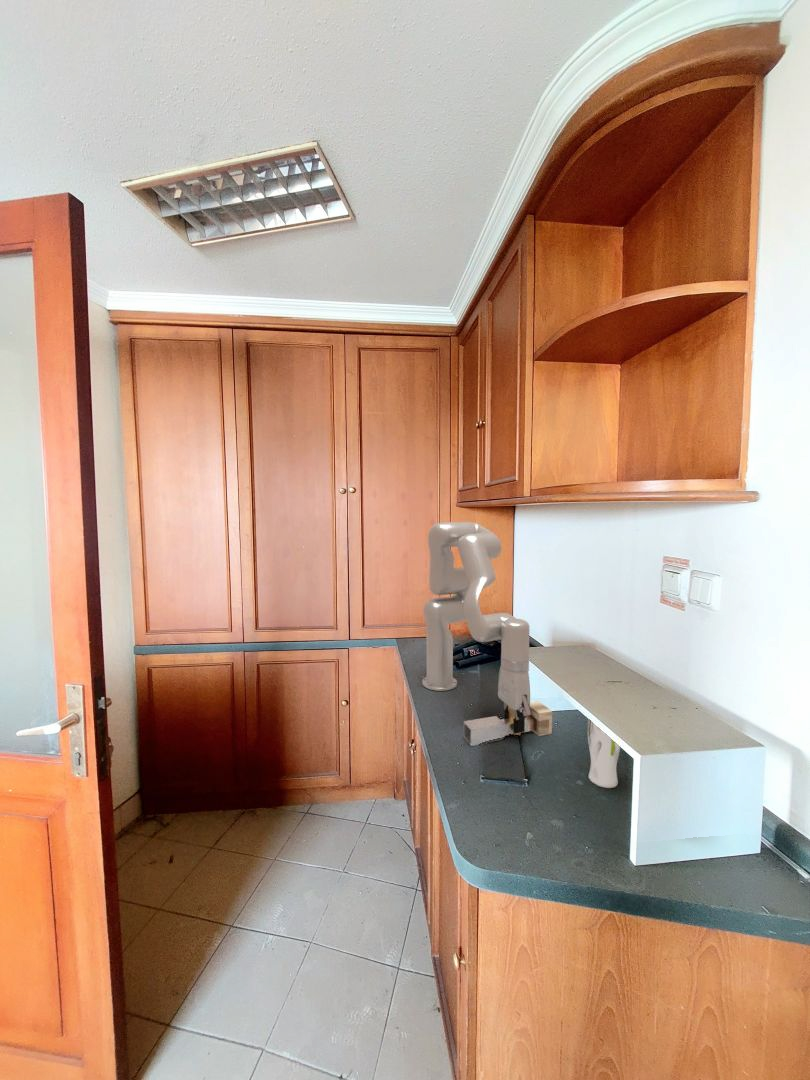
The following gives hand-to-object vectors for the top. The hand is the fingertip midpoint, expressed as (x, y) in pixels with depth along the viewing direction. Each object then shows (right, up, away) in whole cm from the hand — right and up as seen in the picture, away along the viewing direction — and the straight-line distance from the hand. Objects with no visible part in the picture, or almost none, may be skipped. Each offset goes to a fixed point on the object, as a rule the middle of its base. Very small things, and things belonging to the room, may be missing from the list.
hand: (514, 727), depth 116 cm
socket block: (+8, -2, +2) cm, 8 cm away
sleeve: (-9, -2, -3) cm, 10 cm away
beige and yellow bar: (-3, -2, -1) cm, 3 cm away
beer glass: (+15, -3, -20) cm, 26 cm away
